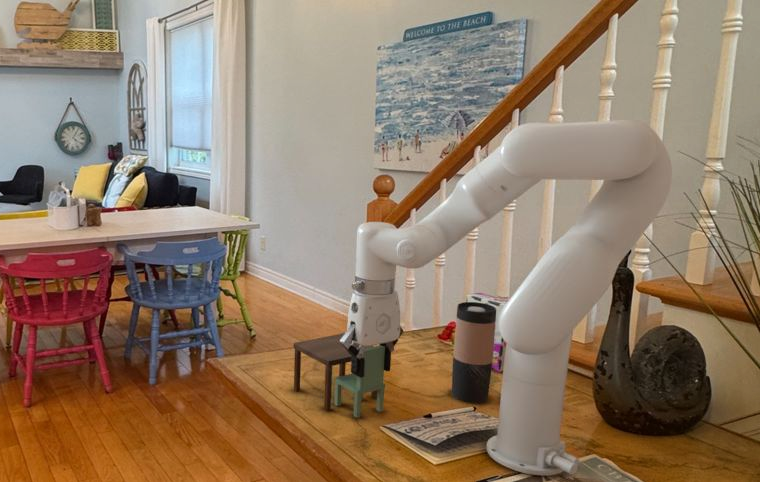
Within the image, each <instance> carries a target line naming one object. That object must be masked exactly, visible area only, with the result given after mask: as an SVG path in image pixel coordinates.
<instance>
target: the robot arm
mask: <svg viewBox="0 0 760 482" xmlns="http://www.w3.org/2000/svg"><path fill="white" fill-rule="evenodd" d="M542 180H557V181H558V180H562V181H563V180H564V181H566V180H567V181H568V180H570V181H572V180H574V181H576V180H579V181H581V180H584V181H586V180H587V181H596V180H597V181H603V182H602V184H601V186H600V188H599V189H598V191H597V192H596V193H595V195H594V196H593V197H592V199H591V200H590V201H589V202H588V204H587V205H586V207H585V208H584V210H583V211H582V213H580V215H579V216H578V218H577V219H576V220H575V221H574V223H573V224H572V225H571V226H570V228H569V229H568V230H567V231H566V232H565V233H564V234H563V236H561V237H560V238H558V239H557V240H556V241H555V242H554V243H553V244H552V245H551V246H550V247H549V248H548V250H546V252H545V253H544V254H543V256H542V257H541V258H540V259H539V261H538V262H537V263H536V265H535V266H534V267H533V268H532V270H531V271H530V272H529V274H528V275H527V276H526V278H525V279H524V280H523V282H522V283H521V284H520V285H519V287H518V288H517V289H516V291H515V292H514V293H513V295H512V296H511V297H510V298H509V299H508V302H507V303H506V305H505V306H504V307H503V309H502V311H501V313H500V316H499V331H500V334H501V336H502V338H503V339H504V341H505V342H506V349H505V358H504V369H503V371H502V377H501V387H500V388H501V390H500V401H499V412H498V422H497V434H496V435H494V436H491V437H490V438H488V439H487V441H486V448H485V449H486V452H487V454H488V456H489V457H490V458H491V459H493V460H494V461H495V462H496V463H498V464H500V465H501V466H503V467H505V468H507V469H510V470H512V471H516V472H519V473H523V474H528V475H531V476H532V475H533V476H544V477H545V476H546V477H547V476H548V477H549V476H554V475H559V474H561V473H563V472H565V473H567V474H569V475H572V476H574V475H575V474H577V472H578V468H579V466H578V465H579V464H580V459H579V458H578V457H577V456H574V455H572V454H569V453H567V451H566V445H567V443H566V441H564V440H561V439H560V438H561V429H562V421H563V420H562V418H563V412H564V411H563V410H564V401H565V392H566V383H567V379H568V370H569V361H570V353H571V346H572V340H573V334H574V330H575V329H576V328H577V326H578V325H579V324H580V323H581V322H582V321H583V320H584V318H585V317H586V316H587V315H588V313H589V312H590V311H591V310H592V309H593V307H595V306H596V304H597V303H598V302H599V301H600V299H601V298H602V297H603V296H604V294H605V293H606V292H607V291H608V289H609V287H610V286H611V284H612V283H613V280H614V278H615V275H616V272H617V270H618V268H619V265H620V264H621V263H622V261H623V260H624V259H625V257H626V256H627V255H628V253H629V252H630V251H631V250H632V249H633V247H634V246H635V245H636V244H637V242H638V241H639V240H640V239H641V237H642V236H643V234H644V233H645V232H646V230H648V228H650V226H651V224H652V223H653V222H654V220H655V219H656V218H657V216H658V215H659V213H660V211H661V210H662V208H663V207H664V205H665V203H666V201H667V199H668V197H669V193H670V190H671V187H672V180H673V167H672V160H671V157H670V154H669V152H668V150H667V147H666V145H665V143H664V142H663V140H662V139H661V138H660V136H659V135H658V133H657V132H656V131H655V130H654V128H652V126H650V125H649V124H648V123H645V122H644V121H641V120H638V119H632V118H621V119H616V120H615V119H614V120H597V121H574V122H544V121H533V122H526V123H523V124H520V125H518V126H516V127H514V128H513V129H512V130H510V131H509V132H508V133H507V134H506V135H505V137H503V139H502V141H501V143H500V145H499V146H498V147H497V148H495V150H493V152H491V153H490V154H489V155H488V156H486V157H485V158H483V159H482V160H481V161H480V162H479V163H478V164H476V165H475V166H474V167H473V168H472V169H470V170H469V171H468V172H467V173H465V174H464V175H463V176H462V177H461V178H460V179H459V180H458V181H457V183H456V185H455V187H454V190H453V191H452V193H450V195H449V196H448V197H447V198H446V199H445V200H444V201H443V202H442V203H440V204H439V205H438V206H437V207H436V208H435V209H433V210H432V211H430V213H429V214H428V215H426V216H425V217H423V218H422V219H421V220H419V222H417V223H415V224H411V225H410V226H408V227H404V228H397V227H396V226H395V225H394V224H392V223H389V222H386V221H385V222H384V221H368V222H363V223H361V224H360V225H359V226H358V227H357V231H356V246H355V250H356V251H355V269H354V270H355V271H354V276H355V277H354V282H352V284H351V289H352V290H354V291H353V292H352V294H351V298H350V303H349V308H348V313H347V325H346V331H345V332H344V333H345V334H344V335H343V337H342V338H341V339H340V344H341V345H342V346H343V347H344V348H345V349H346V350H347V351H348V352H349V354H350V355H352V356H351V362H350V372H351V373H350V374H354V375H356V376H358V377H360V378H362V377H364V368H365V359H364V358H362V357H363V354H364V351H365V348H366V346H378V345H379V346H380V345H381V346H384V347H385V358H384V372H385V371H386V372H390V371H391V361H392V353H393V352H394V351H395V346H396V344H397V343H398V341H399V339H400V338H401V336H402V335H403V333H404V329H403V328H402V327H401V307H400V297H399V294H398V291H396V277H397V275H396V274H397V272H396V271H397V266H398V267H401V268H406V269H413V270H414V269H421V268H422V267H424V266H426V265H428V264H429V263H431V262H432V261H433V260H436V259H437V258H440V256H442V255H443V254H445V253H446V252H447V251H448V250H449V249H451V248H452V247H454V246H456V244H458V243H459V242H460V241H461V240H462V239H464V238H465V237H466V236H468V235H469V234H470V233H472V232H473V231H475V229H477V228H478V227H479V226H481V225H482V224H483V223H485V222H487V221H490V220H491V219H492V218H494V217H495V216H496V215H498V214H499V213H501V211H503V210H504V209H505V208H507V207H509V205H510V204H512V203H513V202H514V201H516V200H518V198H520V197H521V196H522V195H523V194H525V193H526V192H527V191H528V190H530V189H531V188H533V187H534V186H535V185H536V184H538V183H539V182H540V181H542ZM351 340H353V341H352V344H351ZM358 344H359V345H360V346H359V349H358V350H357V349H356V348H357V346H358Z"/></svg>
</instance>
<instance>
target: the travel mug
mask: <svg viewBox="0 0 760 482" xmlns="http://www.w3.org/2000/svg"><path fill="white" fill-rule="evenodd" d="M495 323H496V308H495V307H493V306H491V305H488V304H484V303H477V302H466V301H464V302H460V303H458V304H457V309H456V318H455V330H454V331H455V332H454V340H453V341H454V342H453V354H452V373H451V374H452V375H451V376H452V377H451V395H452V396H453V397H454V398H455V399H457V400H459V401H462V402H465V403H470V404H481V403H482V404H483V403H485V402H487V401H488V399H489V392H490V384H491V379H492V378H491V377H492V371H493V369H492V361H493V349H494V336H495Z"/></svg>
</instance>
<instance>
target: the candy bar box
mask: <svg viewBox="0 0 760 482" xmlns="http://www.w3.org/2000/svg"><path fill="white" fill-rule="evenodd" d="M508 301H509V299H504V298H501V297H497V296H493V295H489V294H486V293H482V292H476V293H470V294H467V295H466V300H465V302H477V303H484V304H488V305H491V306H493V307H495V308H496V323H495V336H494V349H493V361H492V371H495V372H498V373H503V369H504V358H505V349H506V342H505V341H504V339H503V338H502V336H501V334H500V331H499V316H500V313H501V311H502V309H503V307H504V306H505V305H506V303H507V302H508Z"/></svg>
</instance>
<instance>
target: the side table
mask: <svg viewBox="0 0 760 482" xmlns="http://www.w3.org/2000/svg"><path fill="white" fill-rule="evenodd" d="M345 333H346V332H342V333H337V334H332V335H327V336H323V337H316V338H312V339H308V340H307V339H306V340H301V341H297V342H294V343H293V349H294V366H293V367H294V368H293V374H294V375H293V391H294V392H296V393H297V392H300V391H301V370H302V369H301V365H302V363H301V362H302V354H304V355H305V356H307V357H309V358H312V359H313V360H315V361H317V362H318V363H321V364H323V365H324V366H325V368H324V369H325V370H324V397H323V398H324V399H323V401H324V402H323V409H324V411H326V412H328V411H331V410H332V388H333V386H332V385H333V366H338V365H339V366H338V367H339V370H338V377H340V376H345V375H346V364H347V363H351V356H352V355H350V354H349V352H348V351H347V350H346V349H345V348H344V347H343V346H342V345H341V344H340V339H341V338H342V337H343V335H344V334H345ZM352 341H353V340H351V344H352ZM359 346H360V345H359V344H358V346H357V348H356V349H357V350H358V349H359ZM371 347H375V345H372V346H366V348H371ZM366 348H365V349H366ZM370 398H372V399H373V400H375V399H376V400H377V390H376V391H372V392H370Z"/></svg>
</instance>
